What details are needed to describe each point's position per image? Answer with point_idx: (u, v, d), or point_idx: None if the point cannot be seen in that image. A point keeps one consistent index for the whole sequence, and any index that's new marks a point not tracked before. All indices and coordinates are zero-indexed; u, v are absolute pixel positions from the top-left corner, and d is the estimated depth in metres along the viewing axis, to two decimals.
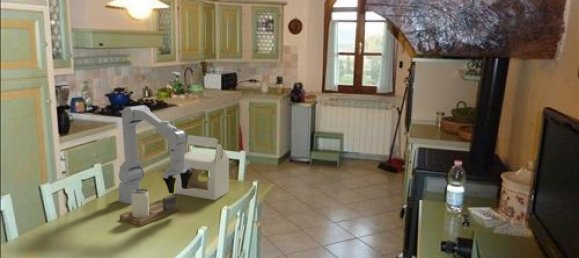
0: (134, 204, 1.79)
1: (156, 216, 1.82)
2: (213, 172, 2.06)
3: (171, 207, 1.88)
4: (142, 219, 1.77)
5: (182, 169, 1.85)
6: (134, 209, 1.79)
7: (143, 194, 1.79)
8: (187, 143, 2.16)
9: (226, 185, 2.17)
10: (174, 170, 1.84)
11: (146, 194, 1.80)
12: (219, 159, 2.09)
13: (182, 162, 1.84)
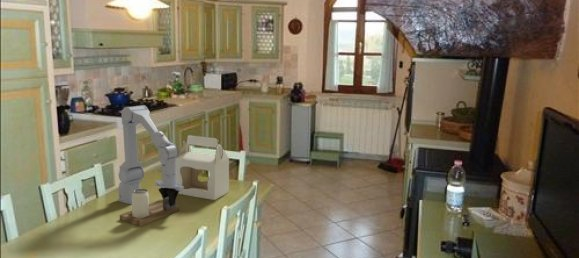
0: (134, 204, 1.79)
1: (156, 216, 1.82)
2: (213, 172, 2.06)
3: (171, 207, 1.88)
4: (142, 219, 1.77)
5: (163, 184, 1.85)
6: (134, 209, 1.79)
7: (143, 194, 1.79)
8: (187, 143, 2.16)
9: (226, 185, 2.17)
10: None
11: (146, 194, 1.80)
12: (219, 159, 2.09)
13: (163, 177, 1.84)
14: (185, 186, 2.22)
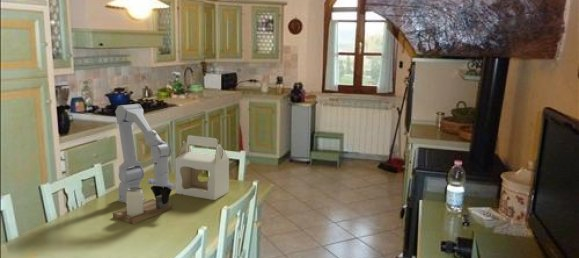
0: (128, 202, 1.80)
1: (149, 214, 1.84)
2: (213, 172, 2.06)
3: (164, 205, 1.90)
4: (135, 217, 1.79)
5: (156, 182, 1.87)
6: (128, 207, 1.81)
7: (137, 192, 1.80)
8: (187, 143, 2.16)
9: (226, 185, 2.17)
10: None
11: (140, 192, 1.81)
12: (219, 159, 2.09)
13: (156, 175, 1.86)
14: (185, 186, 2.22)
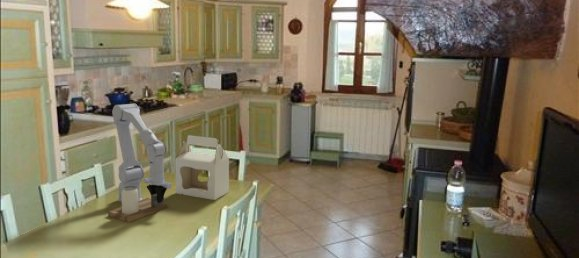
0: (123, 201, 1.82)
1: (144, 213, 1.85)
2: (213, 172, 2.06)
3: (159, 204, 1.92)
4: (130, 215, 1.80)
5: (151, 181, 1.88)
6: (123, 206, 1.82)
7: (132, 191, 1.82)
8: (187, 143, 2.16)
9: (226, 185, 2.17)
10: None
11: (135, 191, 1.83)
12: (219, 159, 2.09)
13: (151, 174, 1.88)
14: (185, 186, 2.22)
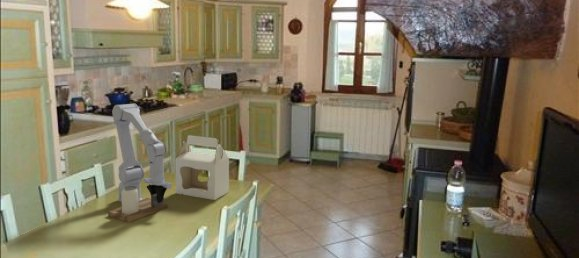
0: (123, 201, 1.82)
1: (144, 213, 1.85)
2: (213, 172, 2.06)
3: (159, 204, 1.92)
4: (130, 215, 1.80)
5: (151, 181, 1.88)
6: (123, 206, 1.82)
7: (132, 191, 1.82)
8: (187, 143, 2.16)
9: (226, 185, 2.17)
10: None
11: (135, 191, 1.83)
12: (219, 159, 2.09)
13: (151, 174, 1.88)
14: (185, 186, 2.22)
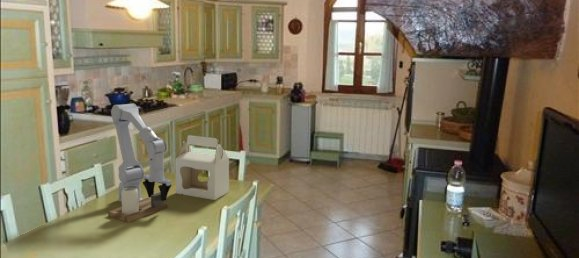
0: (123, 201, 1.82)
1: (144, 213, 1.85)
2: (213, 172, 2.06)
3: (159, 204, 1.92)
4: (130, 215, 1.80)
5: (151, 178, 1.88)
6: (123, 206, 1.82)
7: (132, 191, 1.82)
8: (187, 143, 2.16)
9: (226, 185, 2.17)
10: None
11: (135, 191, 1.83)
12: (219, 159, 2.09)
13: (151, 171, 1.87)
14: (185, 186, 2.22)
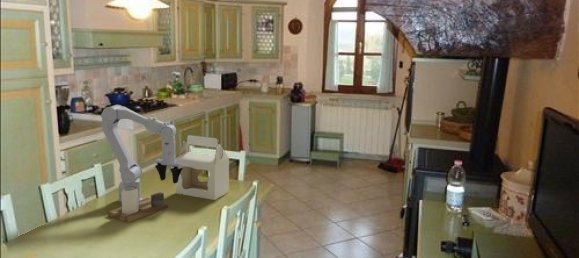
0: (123, 201, 1.82)
1: (144, 213, 1.85)
2: (213, 172, 2.06)
3: (159, 204, 1.92)
4: (130, 215, 1.80)
5: (164, 161, 1.97)
6: (123, 206, 1.82)
7: (132, 191, 1.82)
8: (187, 143, 2.16)
9: (226, 185, 2.17)
10: None
11: (135, 191, 1.83)
12: (219, 159, 2.09)
13: (164, 155, 1.97)
14: (185, 186, 2.22)
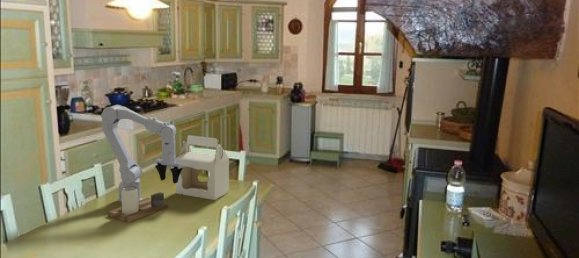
0: (123, 201, 1.82)
1: (144, 213, 1.85)
2: (213, 172, 2.06)
3: (159, 204, 1.92)
4: (130, 215, 1.80)
5: (164, 161, 1.97)
6: (123, 206, 1.82)
7: (132, 191, 1.82)
8: (187, 143, 2.16)
9: (226, 185, 2.17)
10: None
11: (135, 191, 1.83)
12: (219, 159, 2.09)
13: (164, 155, 1.97)
14: (185, 186, 2.22)
